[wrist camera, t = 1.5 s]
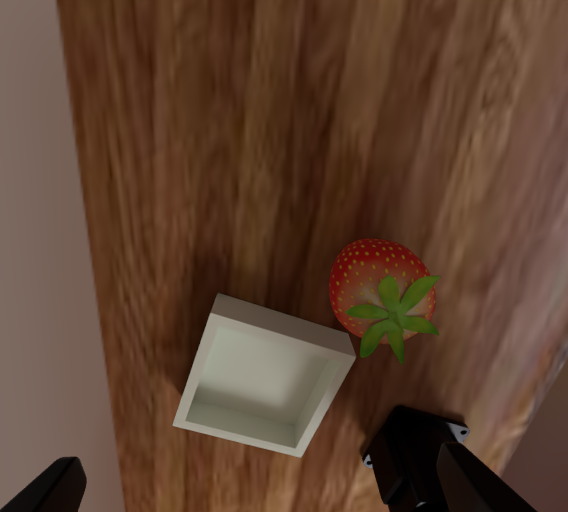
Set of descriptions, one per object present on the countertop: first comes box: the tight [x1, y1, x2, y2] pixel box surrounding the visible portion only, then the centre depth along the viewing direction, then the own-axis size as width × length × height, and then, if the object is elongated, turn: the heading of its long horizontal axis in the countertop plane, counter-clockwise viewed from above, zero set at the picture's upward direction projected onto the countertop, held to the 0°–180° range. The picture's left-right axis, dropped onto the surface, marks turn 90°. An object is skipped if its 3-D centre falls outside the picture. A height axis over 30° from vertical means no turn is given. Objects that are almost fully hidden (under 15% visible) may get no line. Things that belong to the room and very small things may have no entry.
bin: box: [172, 293, 356, 457], centre depth 23 cm, size 9×9×2 cm
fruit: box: [329, 238, 440, 365], centre depth 17 cm, size 5×5×8 cm
